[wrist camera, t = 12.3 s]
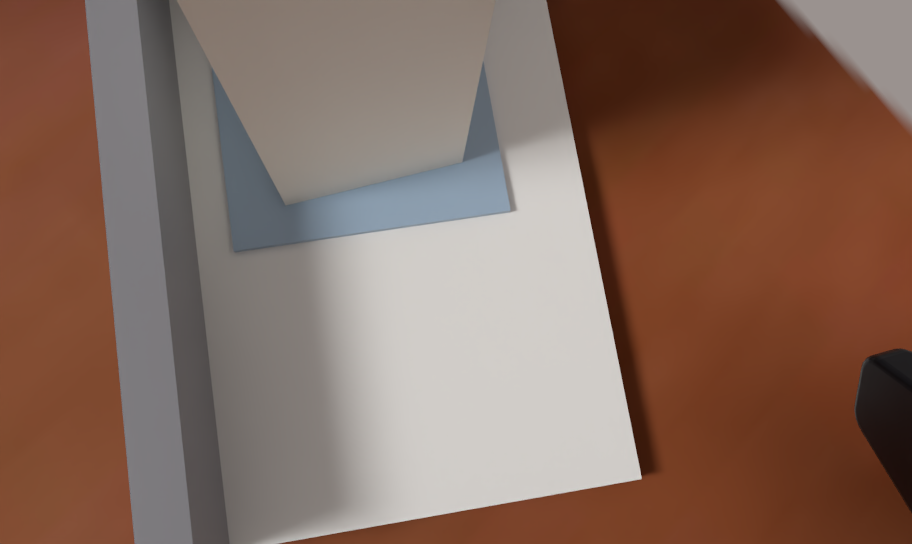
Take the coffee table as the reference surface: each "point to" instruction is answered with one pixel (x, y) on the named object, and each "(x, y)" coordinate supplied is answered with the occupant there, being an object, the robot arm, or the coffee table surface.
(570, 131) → the arena
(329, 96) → the block
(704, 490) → the coffee table surface
